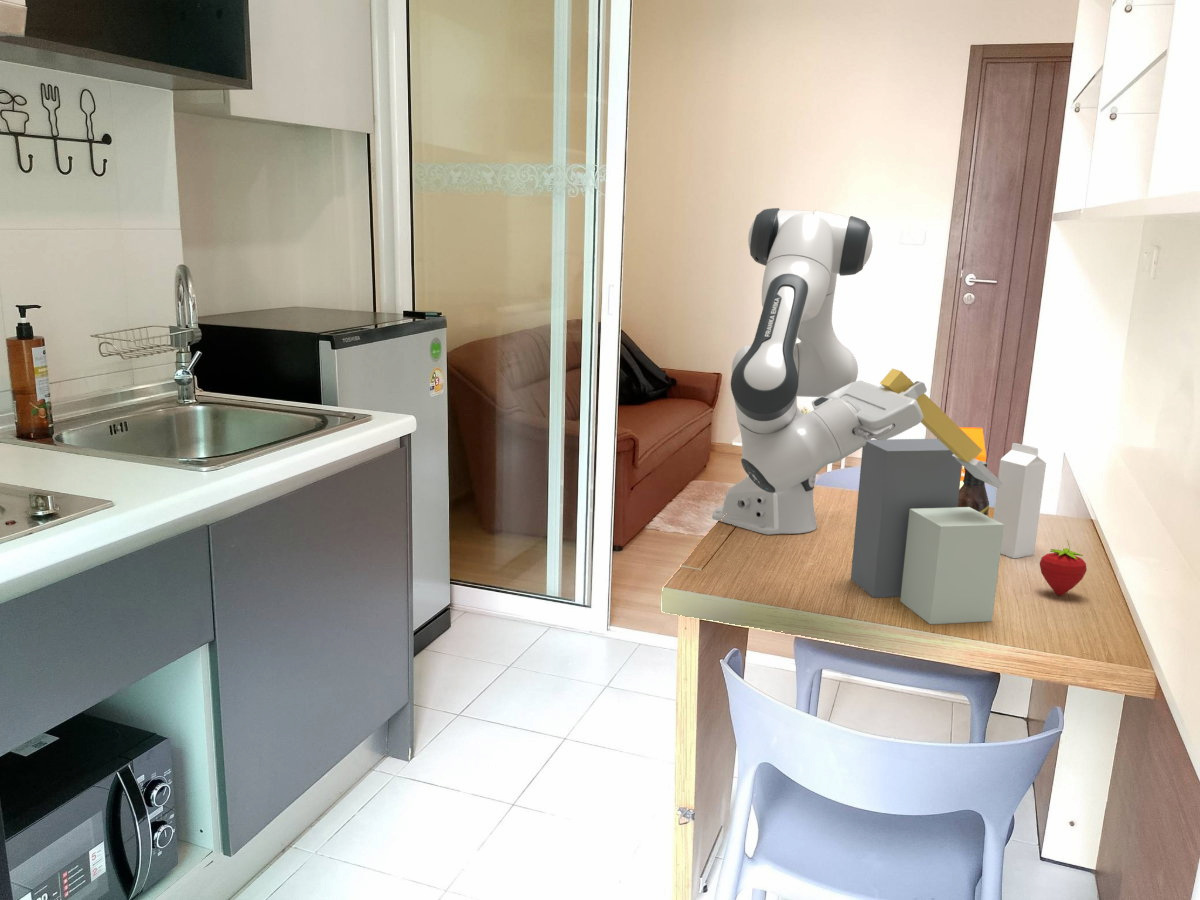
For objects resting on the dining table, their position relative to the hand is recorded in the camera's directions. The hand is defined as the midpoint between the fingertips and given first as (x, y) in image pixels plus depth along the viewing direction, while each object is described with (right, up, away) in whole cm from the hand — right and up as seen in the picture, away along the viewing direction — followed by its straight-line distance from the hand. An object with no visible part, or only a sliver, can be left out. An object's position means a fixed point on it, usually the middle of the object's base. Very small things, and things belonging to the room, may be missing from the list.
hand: (916, 383), depth 150 cm
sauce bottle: (+21, -32, +35) cm, 52 cm away
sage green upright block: (+8, -37, +10) cm, 40 cm away
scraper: (+4, -8, +3) cm, 9 cm away
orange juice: (+31, -25, +68) cm, 79 cm away
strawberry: (+31, -36, +18) cm, 51 cm away
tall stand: (+4, -35, +20) cm, 41 cm away
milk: (+33, -31, +41) cm, 61 cm away
